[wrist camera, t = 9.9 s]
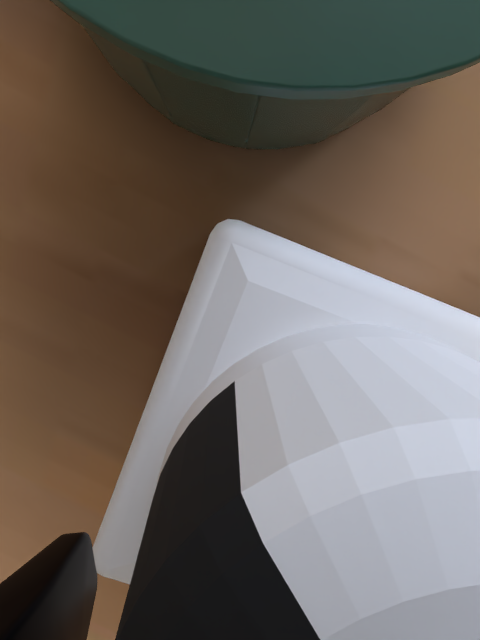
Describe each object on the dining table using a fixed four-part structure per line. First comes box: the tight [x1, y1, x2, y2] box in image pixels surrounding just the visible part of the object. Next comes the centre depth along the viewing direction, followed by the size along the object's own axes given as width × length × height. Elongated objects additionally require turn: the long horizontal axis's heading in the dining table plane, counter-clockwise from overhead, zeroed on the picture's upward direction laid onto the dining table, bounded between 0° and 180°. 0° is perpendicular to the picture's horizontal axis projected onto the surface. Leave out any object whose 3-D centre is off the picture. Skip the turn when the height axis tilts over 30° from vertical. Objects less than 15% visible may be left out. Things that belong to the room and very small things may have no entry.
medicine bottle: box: [92, 219, 480, 640], centre depth 9 cm, size 7×7×12 cm
